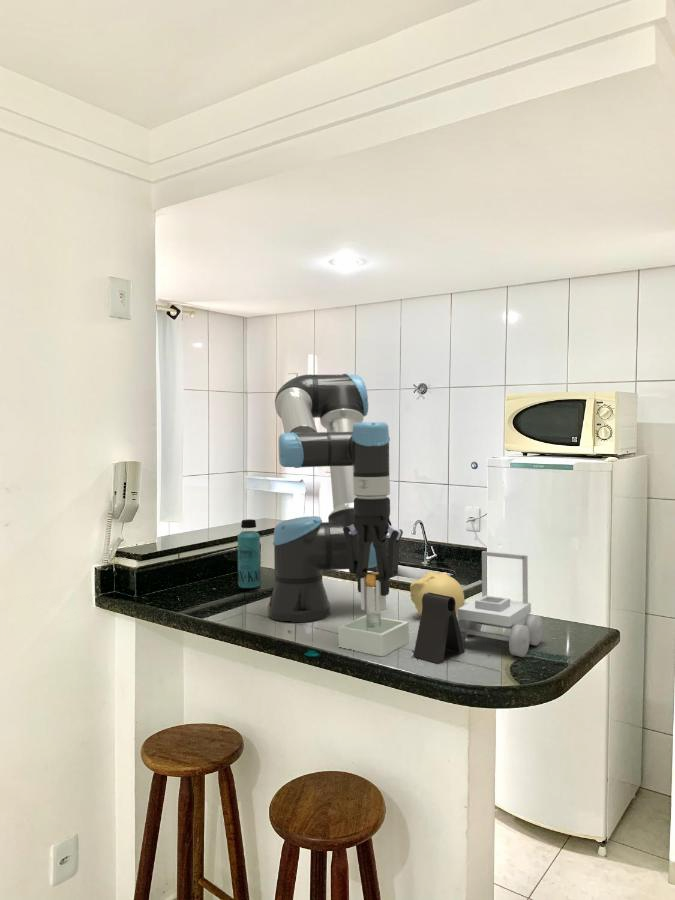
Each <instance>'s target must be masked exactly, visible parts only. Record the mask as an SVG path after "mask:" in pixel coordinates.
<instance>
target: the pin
mask: <svg viewBox="0 0 675 900" xmlns="http://www.w3.org/2000/svg"><path fill="white" fill-rule="evenodd" d="M377 578H379V574H378V571H368V572H367V573H366V609H365V615H366V626H367V627H368V628H379V627H381V618H382V614H381V613H382V612H376V580H377Z"/></svg>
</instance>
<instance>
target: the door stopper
mask: <svg viewBox="0 0 675 900" xmlns="http://www.w3.org/2000/svg"><path fill="white" fill-rule="evenodd" d="M455 605H456V602H455V599H454V598H453V597H449V596H444V595H439V594H434V593H429V592H428V594H427V593H425V594H424V595H423V598H422V614H421V615H420V620H419V624H418V631H417V634H416V640H415V646H414V651H413V654H412V655H413V656H412V657H413V658H416V659H418V660H419V659H420V660H424V661H426V662H431V663H434V664H438V665H440V664H442V663H444V662H447V661H449V660H452V659H453V658H456V657H459V656H461V655H463V654H464V653H465V651H466V650H465V645H464V643H463V641H462V637H461V633H460V629H459V624H458V620H457V616H456V611H455Z"/></svg>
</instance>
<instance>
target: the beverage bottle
mask: <svg viewBox="0 0 675 900" xmlns="http://www.w3.org/2000/svg"><path fill="white" fill-rule="evenodd" d="M240 527H241V528H242V529H253V528H254V529H255V528H256V527H257V523H256V519H251V518H250V519H249V518H247V519H242V520H241V526H240ZM260 539H261V535H260V534H259V533H258V532H257V531H254V530H244V531H241V532H239V534H238V535H237V559H236V560H237V563H236V564H237V585H238V587H239V588H242V589H252V588H258V587H260V586H261V581H262V580H261V579H262V576H261V564H262V563H261V562H262V561H261V540H260Z"/></svg>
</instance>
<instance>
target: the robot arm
mask: <svg viewBox="0 0 675 900" xmlns="http://www.w3.org/2000/svg"><path fill="white" fill-rule="evenodd" d="M368 397H369V395H368V390H367V387H366V384H365V381H364V379H363V378H362V376H360V375H358V374H348V373H343V374H302V375H298V376H296V377H294V378H291V379H290V380H288V381H286V382H285V383H283V384H282V386H281V387H280V388H279V390H278V391H277V393H276V394H275V399H274V408H275V410H276V414H277V416H278V417H279V418H280V419H281V423H282V428H283V433H281V434H280V435H279V436H278V459H279V460H278V461H279V464H280V466H281V467H283V468H295V469H299V468H319V467H320V468H321V467H329V471H330V472H329V473H330V481H331V484H330V485H331V495H332V505H333V506H332V507H333V510H332V511H331V513H330V514H329V515H328V521H325V522H324V521H323V520H322V517H320V516H318V515H317V516H316V515H313V516H309V515H308V516H302V517H295V518H291V519H286V520H284V521H281V522H279V523H278V524H276V525H275V526H274V530H273V542H272V545H273V547H274V551H273V552H274V553H273V555H274V562H273V563H274V584H273V588H272V591H271V595H270V596H271V597H269V602H268V606H267V616H268V617H269V618H270V617H271V618H270V619H272V618H273V619H272V620H274V619H276V620H275V621H278V620H281V621H280V622H283V621H291V622H290V623H306V622H308V623H309V622H314V621H318V620H319V621H320V620H323V619H325V618H327V617H329V616H330V615H331V603H330V601H329V599H328V594H327V592H326V589H325V586H324V581H323V571H338V570H339V571H340V570H348V572H349V573H350V574H353V575H355V576H356V578H357V591H358V593H360V608H361V609H360V610H362V611H366V573H367V572H369V569H371V568H372V569H373V568H375V567H377V572H378V574H379V578H377V580H376V612H381V613H382V612H384V611H385V610H387V596H388V595H389V594H390V579H392V578H394V577H398V574H399V560H400V559H399V558H400V546H401V545H400V544H401V543H400V541H401V538H402V536H403V533H404V531H403V529H397V528H395V527H394V526H393V525H392V522H391V520H390V515H391V499H390V497H388V496H389V495H391V479H390V441H391V437H390V433H389V432H390V431H389V424H388V423H386V422H384V421H376V422H375V421H372V422H371V421H369V422H368V421H366V422H365V421H364V418H365V417H366V416H367V415H368V412H369V401H368V400H369V398H368ZM315 418H317V419H318V418H319V419H320V425H321V426H322V427H323V428H324V429H326V432H325V431H323V432H318V429H317V426H316V423H315V420H314V419H315ZM363 421H364V422H363ZM387 536H388V543H387ZM387 544H388V547H387Z"/></svg>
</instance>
